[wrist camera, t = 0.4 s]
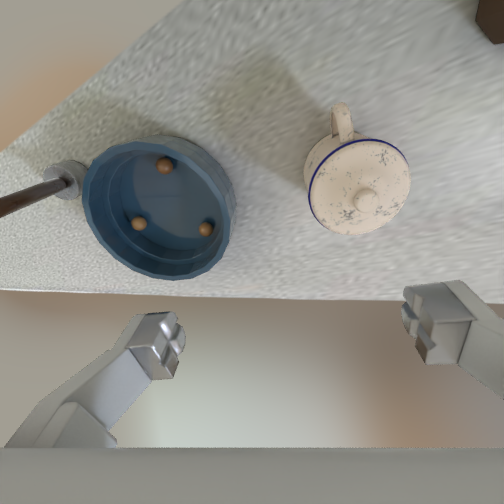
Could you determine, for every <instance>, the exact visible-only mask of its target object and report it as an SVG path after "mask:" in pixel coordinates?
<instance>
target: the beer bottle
mask: <svg viewBox="0 0 504 504" xmlns="http://www.w3.org/2000/svg"><path fill="white" fill-rule="evenodd" d="M476 22H477V23H478V24H479V26H480V27H481V28H482V30H483V31H484V32H485V34H486V35H487V36H488V37H489V39H490V40H491V41H492V43H493V44H501V43H504V0H480V2H479V7H478V11H477V16H476Z"/></svg>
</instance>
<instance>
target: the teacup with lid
mask: <svg viewBox="0 0 504 504" xmlns="http://www.w3.org/2000/svg"><path fill="white" fill-rule="evenodd" d="M330 128H331V134H330V135H328V136H326V137H325V138H323V139H322V140H320V141H319V142H318V143H317V144H316V145H315V146H314V147H313V148H312V150H311V151H310V153H309V154H308V156H307V158H306V161H305V165H304V171H303V176H304V182H305V185H306V188H307V191H308V199H309V205H310V208H311V211H312V213H313V215H314V217H315V218H316V219H317V220H318V222H319V223H320V224H322V225H323V226H324V227H326V228H327V229H329V230H331V231H333V232H336V233H339V234H345V235H358V234H364V233H367V232H371V231H373V230H375V229H378V228H379V227H381V226H383V225H384V224H386V223H387V222H389V221H390V220H391V219H392V218H393V217H394V216H395V215H396V214H397V213H398V212H399V210H400V209H401V208H402V206H403V204H404V203H405V201H406V199H407V196H408V193H409V190H410V184H411V175H410V169H409V166H408V163H407V161H406V159H405V157H404V155H403V154H402V153H401V152H400V151H399V150H398V149H397V148H396V147H394V146H393V145H391V144H389V143H387V142H385V141H382V140H378V139H370V138H368V137H366V136H363V135H361V134H359V133H356V132H354V130H353V122H352V117H351V113H350V110H349V108H348V106H347V105H346V104H345V103H343V102H341V103H338V104H335V105H334V106H333V107H332V108H331V111H330Z"/></svg>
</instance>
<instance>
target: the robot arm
mask: <svg viewBox="0 0 504 504" xmlns="http://www.w3.org/2000/svg"><path fill="white" fill-rule="evenodd" d="M403 296H404V298H405V300H406V302H405V303H404V304H403V305H402V311H401V314H402V320H403V324H404V326H405V329H406V330H407V332H408V334H409V335H410V336H412V337H414V338H415V339H416V343H415V347H416V349H417V350H418V352H419V354H420V356H421V357H422V359H423V361H424V363H425V364H426V365H437V364H438V365H439V364H458V366H459V367H460V368H462V369H463V370H465V371H466V372H467V373H468V374H470V375H471V376H472V377H474V378H475V379H477V380H478V381H479V382H481V383H482V384H483V385H485V386H486V387H487V388H489V389H490V390H491V391H493V392H494V393H495V394H497V395H498V396H499V397H501V398H502V399H503V400H504V318H500V317H499V316H498V315H497V314H496V313H495V312H493V311H492V309H491V308H489V307H488V306H487V305H486V304H485V303H484V302H483V301H482V300H481V299H480V298H479V297H478V296H477V295H476V294H475V293H474V292H473V291H472V290H471V289H470V288H469V287H468V286H467V285H466V284H465V283H464V282H463V281H460V280H454V281H445V282H440V283H430V284H421V285H413V286H406V287H405V289H404V292H403ZM177 320H178V318H177V316H176V314H175V313H174V312H159V313H148V314H137V315H135V316H133V317H132V319H131V320H130V322H129V323H128V325H127V327H126V328H125V330H124V331H123V333H122V334H121V336H120V337H119V339H118V340H117V342H116V343H115V345H114V347H113V348H112V349H111V350H107V351H106V352H105V353H104V354H102V355H101V356H99V357H98V358H96V359H95V360H94V361H93V362H91V363H90V364H89V365H87V366H86V367H85V368H83V369H82V370H81V371H79V372H78V373H77V374H75V375H74V376H73V377H71V378H70V379H69V380H67V381H66V382H65V383H63V384H62V385H61V386H59V387H58V388H57V389H56V390H54V391H53V392H52V393H50V394H49V395H48V396H46V397H45V398H44V399H42V400H41V401H40V402H39V403H38V404H37V405H36V406H35V408H34V409H33V410H32V412H31V413H30V414H29V416H28V417H27V418H26V420H25V421H24V422H23V423H22V425H21V426H20V427H19V428H18V430H17V431H16V432H15V434H14V435H13V436H12V437H11V439H10V440H9V441H8V443H7V444H6V445H5V446H4V448H0V504H504V448H116V445H117V440H116V438H115V437H114V436H113V435H111V434H110V433H109V432H108V431H109V430H110V429H111V428H112V426H113V425H114V424H115V423H116V422H117V421H118V420H119V418H120V417H121V416H122V415H123V414H124V413H125V412H126V410H127V409H128V408H129V407H130V406H131V405H132V404H133V402H134V401H135V400H136V399H137V398H138V397H139V396H140V394H141V393H142V392H143V391H144V390H145V389H146V388H147V386H148V385H149V384H150V383H151V380H162V379H172V378H173V377H174V374H175V371H176V369H177V366H178V363H179V361H178V358H177V356H178V355H179V354H180V353H181V352H183V349H184V346H185V339H186V336H185V332H184V329H183V327H182V326H180V325H179V324H178V323H176V322H177Z"/></svg>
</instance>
